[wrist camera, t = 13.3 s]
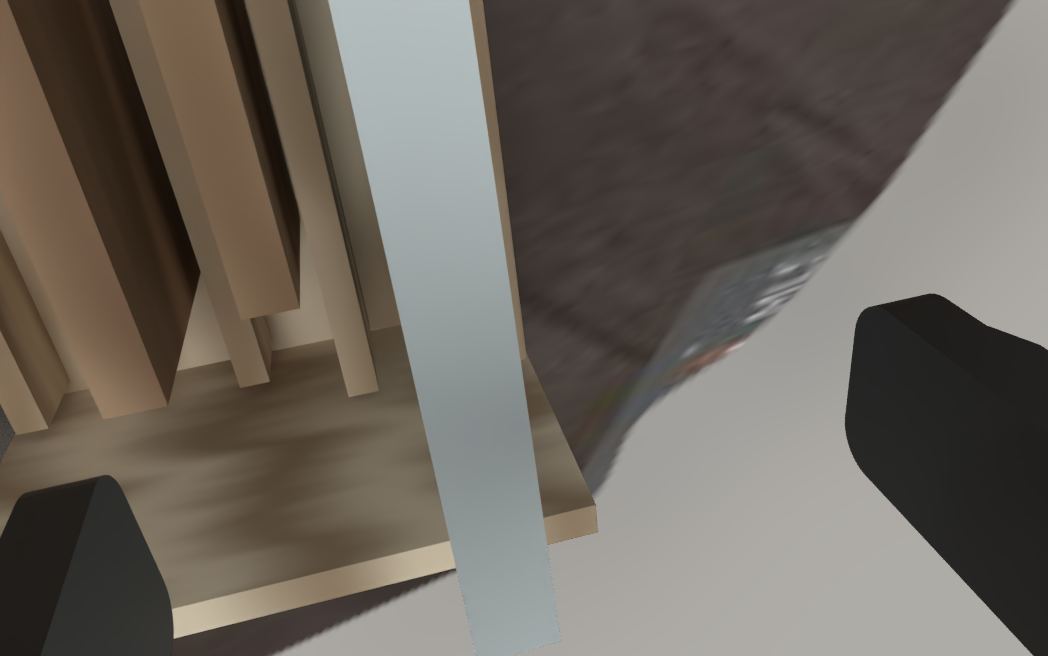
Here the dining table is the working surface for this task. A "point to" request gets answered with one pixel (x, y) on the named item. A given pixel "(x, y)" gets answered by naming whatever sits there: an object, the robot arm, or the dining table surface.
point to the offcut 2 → (231, 146)
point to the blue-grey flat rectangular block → (453, 300)
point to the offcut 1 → (94, 199)
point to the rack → (269, 375)
